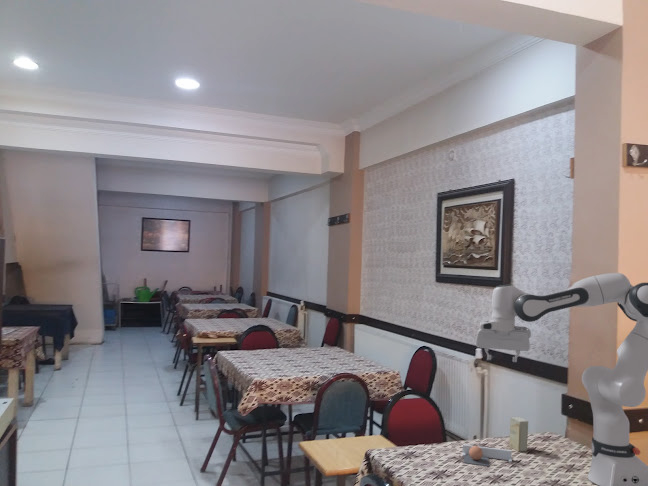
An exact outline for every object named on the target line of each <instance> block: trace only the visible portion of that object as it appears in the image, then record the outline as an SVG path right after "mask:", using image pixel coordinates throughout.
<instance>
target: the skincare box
mask: <svg viewBox="0 0 648 486" xmlns="http://www.w3.org/2000/svg"><path fill="white" fill-rule="evenodd" d="M509 421H510V422H509V423H510V425H509V439H508V440H509V444H508V445H509V446H508V447H510V448H511V449H512V450H515V451H517V452H527V451H528V434H529V420H527V419H525V418H522V417H520V416H510V420H509Z"/></svg>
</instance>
